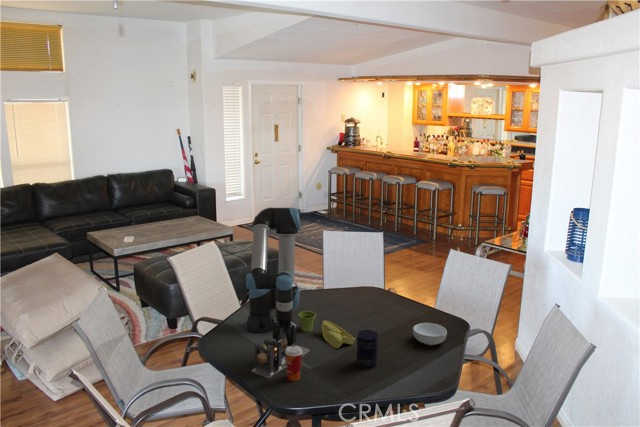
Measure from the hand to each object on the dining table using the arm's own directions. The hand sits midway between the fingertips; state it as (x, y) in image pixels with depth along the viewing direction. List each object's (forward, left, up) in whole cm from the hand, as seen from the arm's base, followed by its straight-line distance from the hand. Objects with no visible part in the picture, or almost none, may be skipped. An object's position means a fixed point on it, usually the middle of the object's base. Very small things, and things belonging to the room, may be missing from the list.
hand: (284, 354), depth 262 cm
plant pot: (-10, +33, -3) cm, 35 cm away
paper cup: (+14, -11, -3) cm, 18 cm away
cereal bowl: (+49, +58, -3) cm, 76 cm away
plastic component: (+9, +33, -3) cm, 34 cm away
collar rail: (0, -2, -2) cm, 3 cm away
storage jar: (+34, +19, -3) cm, 39 cm away
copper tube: (0, -8, +3) cm, 8 cm away
